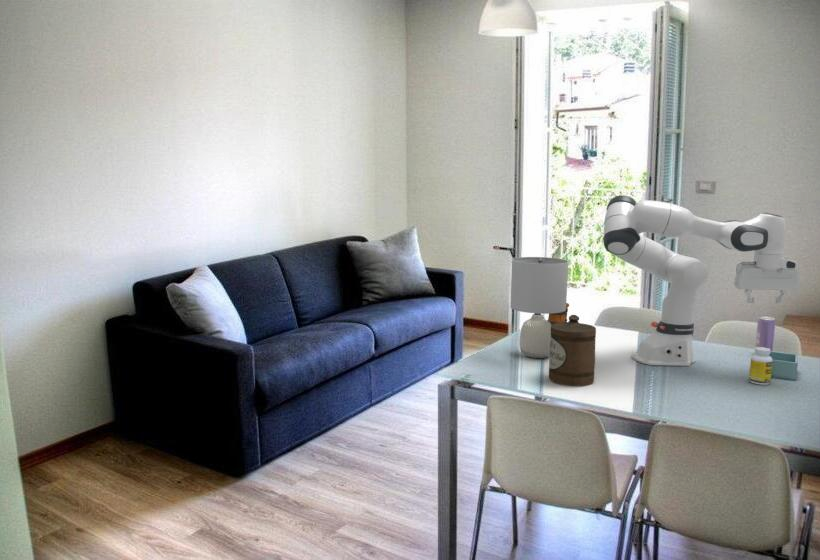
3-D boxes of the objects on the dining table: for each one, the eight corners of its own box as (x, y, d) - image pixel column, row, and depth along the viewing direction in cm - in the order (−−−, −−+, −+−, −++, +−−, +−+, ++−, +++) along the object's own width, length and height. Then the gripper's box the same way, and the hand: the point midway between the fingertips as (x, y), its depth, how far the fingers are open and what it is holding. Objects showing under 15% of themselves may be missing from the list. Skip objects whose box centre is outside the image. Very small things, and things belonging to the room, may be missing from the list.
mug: (558, 334, 305) (559, 307, 303) (539, 330, 312) (540, 304, 311) (576, 330, 313) (578, 304, 311) (557, 326, 321) (559, 300, 319)
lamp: (537, 346, 282) (541, 254, 277) (575, 358, 266) (580, 260, 260) (497, 353, 271) (500, 257, 266) (534, 366, 255) (539, 263, 249)
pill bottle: (761, 386, 234) (765, 352, 232) (744, 381, 240) (747, 347, 238) (774, 384, 237) (778, 349, 235) (757, 378, 243) (760, 345, 241)
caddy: (795, 380, 241) (797, 363, 241) (751, 374, 248) (753, 357, 247) (796, 371, 253) (798, 354, 252) (754, 365, 260) (755, 349, 259)
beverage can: (774, 358, 270) (778, 319, 268) (758, 358, 270) (762, 319, 268) (767, 354, 276) (771, 316, 274) (751, 354, 276) (755, 316, 274)
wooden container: (545, 373, 246) (548, 310, 243) (588, 374, 246) (592, 311, 242) (552, 386, 231) (555, 319, 228) (598, 387, 231) (602, 320, 228)
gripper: (741, 262, 235) (737, 303, 237) (803, 263, 235) (799, 305, 237) (732, 260, 242) (729, 300, 244) (793, 261, 241) (789, 301, 244)
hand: (764, 302), depth 240 cm, fingers open, 8 cm apart
